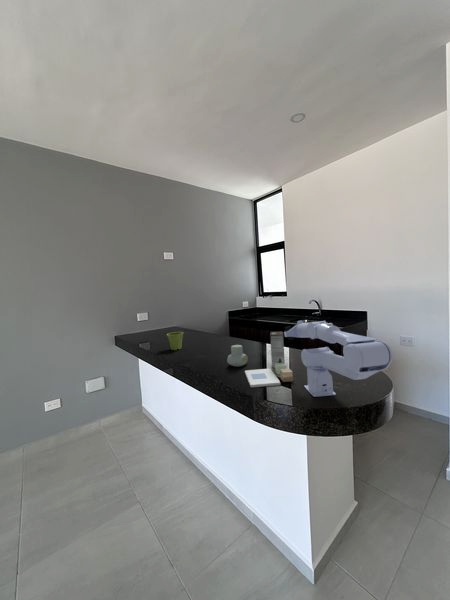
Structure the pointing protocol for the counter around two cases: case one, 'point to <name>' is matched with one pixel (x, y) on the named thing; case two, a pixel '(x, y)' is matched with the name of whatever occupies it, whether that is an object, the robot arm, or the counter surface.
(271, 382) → the plate
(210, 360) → the counter surface
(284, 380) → the maple block
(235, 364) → the air freshener
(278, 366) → the sage block
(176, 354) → the counter surface
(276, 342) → the coffee box
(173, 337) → the plant pot
